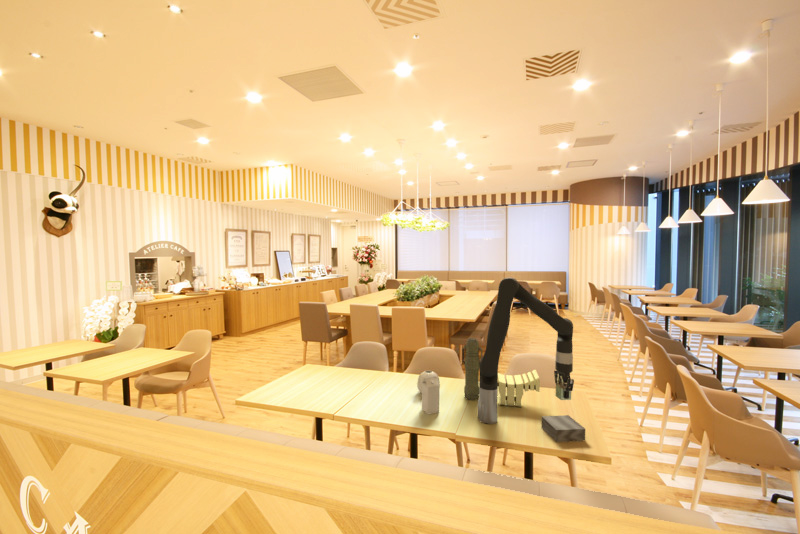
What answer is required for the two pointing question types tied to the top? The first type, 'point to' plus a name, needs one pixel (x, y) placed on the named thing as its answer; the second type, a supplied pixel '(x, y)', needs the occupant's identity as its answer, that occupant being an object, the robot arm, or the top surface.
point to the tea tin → (561, 392)
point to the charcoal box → (563, 428)
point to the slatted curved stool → (516, 387)
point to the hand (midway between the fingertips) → (563, 395)
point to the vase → (422, 378)
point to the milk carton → (430, 395)
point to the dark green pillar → (471, 369)
